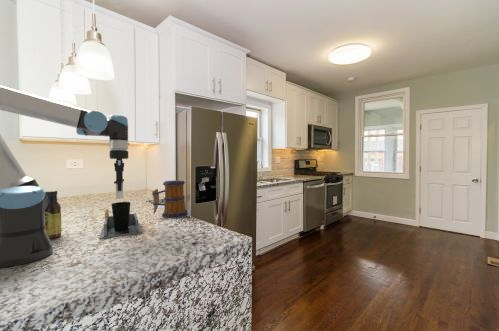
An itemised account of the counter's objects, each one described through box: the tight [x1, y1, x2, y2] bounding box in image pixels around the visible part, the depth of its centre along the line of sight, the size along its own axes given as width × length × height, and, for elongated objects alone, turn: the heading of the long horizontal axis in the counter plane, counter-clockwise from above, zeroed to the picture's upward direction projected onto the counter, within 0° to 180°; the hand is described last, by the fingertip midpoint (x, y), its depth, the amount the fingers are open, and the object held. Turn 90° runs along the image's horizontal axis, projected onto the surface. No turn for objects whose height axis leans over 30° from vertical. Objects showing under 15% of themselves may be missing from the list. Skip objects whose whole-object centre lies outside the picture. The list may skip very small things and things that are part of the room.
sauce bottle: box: [44, 189, 63, 239], centre depth 102 cm, size 7×6×20 cm
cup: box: [111, 201, 131, 231], centre depth 109 cm, size 8×8×12 cm
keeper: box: [99, 208, 143, 240], centre depth 109 cm, size 18×16×9 cm
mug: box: [151, 179, 189, 219], centre depth 137 cm, size 19×14×20 cm
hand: (119, 196), depth 109 cm, fingers open, 13 cm apart
